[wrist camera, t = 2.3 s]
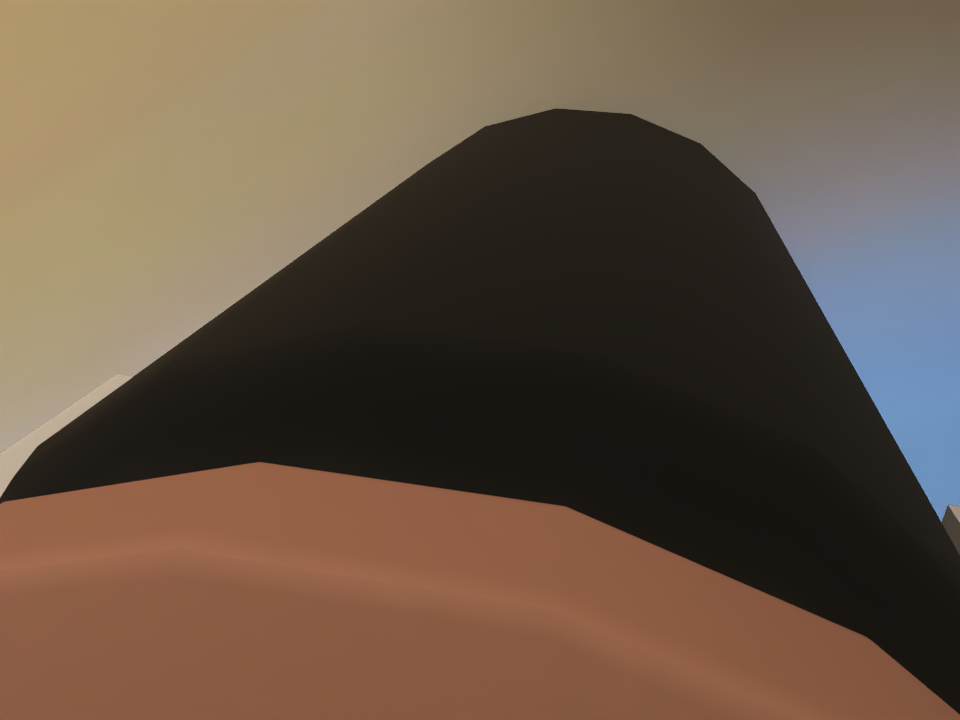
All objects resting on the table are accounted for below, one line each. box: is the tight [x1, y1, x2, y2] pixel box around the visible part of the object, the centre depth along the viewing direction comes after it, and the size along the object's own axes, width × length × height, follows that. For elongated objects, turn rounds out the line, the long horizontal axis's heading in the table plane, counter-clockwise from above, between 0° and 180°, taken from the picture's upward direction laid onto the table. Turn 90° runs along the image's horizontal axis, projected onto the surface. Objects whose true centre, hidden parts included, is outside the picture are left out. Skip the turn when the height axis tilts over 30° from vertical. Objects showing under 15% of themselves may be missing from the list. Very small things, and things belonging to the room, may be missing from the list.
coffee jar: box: [0, 109, 960, 720], centre depth 14 cm, size 11×11×18 cm
